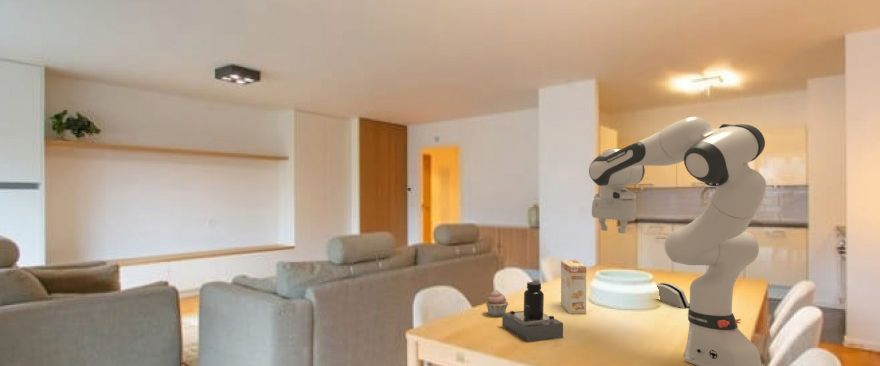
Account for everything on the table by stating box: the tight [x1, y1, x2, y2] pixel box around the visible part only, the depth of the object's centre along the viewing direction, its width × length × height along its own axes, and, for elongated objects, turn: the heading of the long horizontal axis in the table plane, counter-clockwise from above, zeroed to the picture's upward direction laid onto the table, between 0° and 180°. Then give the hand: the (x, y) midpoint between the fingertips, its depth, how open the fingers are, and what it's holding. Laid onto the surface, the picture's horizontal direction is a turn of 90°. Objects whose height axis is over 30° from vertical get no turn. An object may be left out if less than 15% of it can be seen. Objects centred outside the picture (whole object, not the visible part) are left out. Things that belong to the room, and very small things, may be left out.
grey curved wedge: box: [656, 282, 690, 309], centre depth 207 cm, size 17×5×10 cm, turn 12°
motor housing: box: [501, 310, 564, 343], centre depth 169 cm, size 21×14×6 cm, turn 19°
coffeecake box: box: [560, 259, 587, 315], centre depth 198 cm, size 15×7×20 cm, turn 179°
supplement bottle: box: [523, 281, 545, 320], centre depth 166 cm, size 7×7×12 cm
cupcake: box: [485, 289, 509, 318], centre depth 190 cm, size 9×9×10 cm
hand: (612, 231), depth 172 cm, fingers open, 8 cm apart
